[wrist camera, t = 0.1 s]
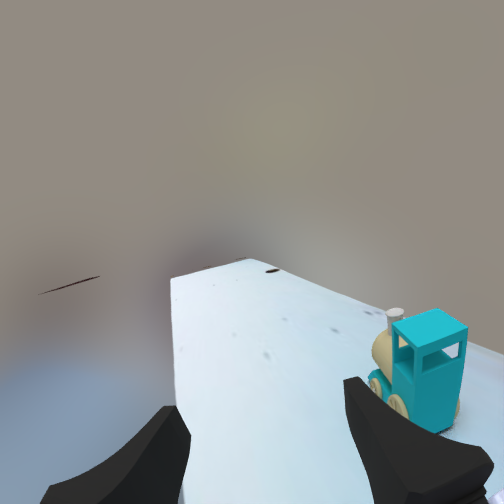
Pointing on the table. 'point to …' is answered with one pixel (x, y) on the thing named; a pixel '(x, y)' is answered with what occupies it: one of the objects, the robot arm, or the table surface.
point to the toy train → (420, 367)
